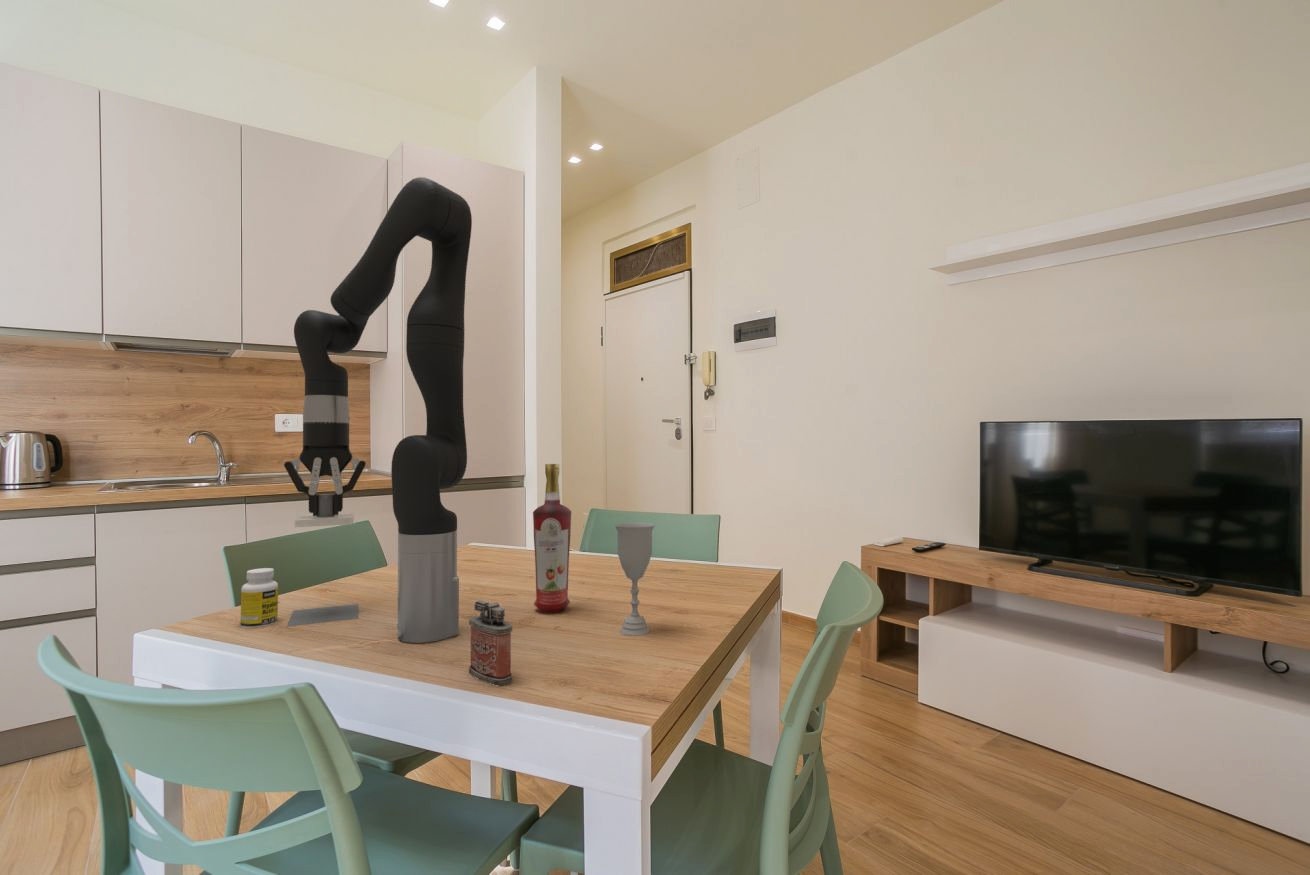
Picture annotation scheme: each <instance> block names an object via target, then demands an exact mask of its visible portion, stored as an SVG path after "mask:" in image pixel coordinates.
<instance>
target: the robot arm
mask: <svg viewBox="0 0 1310 875" xmlns="http://www.w3.org/2000/svg"><path fill="white" fill-rule="evenodd" d="M472 223H473V218H472V212H471V208H470V205H469V204H468V201H466V199H465V198H463V197H462V195H460V194H459V193H456V192H454V191H453V190H451V189H449V188H447V187H445V186H444V185H443V184H440V183H438V182H436V181H434V180H433V179H430V178H428V177H425V176H423V177H422V176H421V177H420V176H419V177H415V178H412V179H411V180H410V181H408V182H407V183H406V184H404V186H403V187H402V188H401V189H400V191H399V192H398V193H397V195H396V197H395V198H394V200H393V202H391V205H390V206H389V209H388V210H387V212H386V214H385V216H384V218H383V219H382V221H381V222H380V224H379V225H378V228H377V229H376V232H375V234H374V235H373V237H372V238H371V241H370V243H369V244H368V246H367V248H366V250H365V251H364V252H363V255H362V256H361V257H360V259H359V260H358V261H357V263H356V264H355V266H354V267H353V268H352V270H350V271H349V272H348V273H347V275H346V276H345V277H344V278H343V280H342V281H341V283H339V285H338V286H336V288H335V290H334V291H333V292H332V293H331V296H330V304H331V307H332V308H333V310H334V311H335V312H336V313H337V314H338V315H337V314H332V313H328V312H325V311H321V310H314V309H307V310H305V311H302V312H301V313H300V314H299V315H298V316H297V318H296V320H295V322H294V326H293V336H294V341H295V345H296V348H297V351H298V355H299V358H300V361H301V365H302V369H303V372H304V400H303V408H302V451H301V453H300V454H299V457H297V458H295V459H292V460H288V461H286V462H284V464H283V466H284V468H285V470H286V472H287V473H288V476H289V477H290V479H291V481H292V483H293V485H294V486H295V489H296V490H297V492H299V493H303V494H306V495H307V496H308V512H309V513H310V514H312V515H313V516H317V509H318V495H319V494H318V489H319V482H320V479H321V477H324V476H329V477H332V480H333V485H334V486H333V487H334V494H335V495H334V515H338V514H339V513H342V511H343V508H344V506H343V505H344V494H345V493H348V492H350V491H353V490H354V488H355V486H356V484H357V483H358V480H359V478H360V476H361V474H362V473H363V471H364V469H365V467H366V461H365V460H361V459H359V458H355V457H353V454H352V452H351V450H350V420H351V416H350V404H349V376H348V375H349V373H348V370H347V369H346V368H345V367H344V366H342V365H339V364H337V363H335V362H334V361H332V360H331V357H330V356H329V353H331V354H332V353H334V354H346V353H348V352H351V351H352V350H354V348H356V346H358V344H359V342H360V340H361V338H362V335H363V332H364V331H365V328H366V327H367V323H368V321H369V318H370V316H372V315H373V314H374V313H375V312H376V310H377V309H378V308H379V307H380V306H381V305H382V304H383V303H384V301H385V300H386V299H387V297H388V296H389V295H390V293H391V291H392V289H393V286H394V284H395V281H396V280H395V279H396V273H397V272H396V271H397V263H398V259H399V257H400V254H401V252H402V251H403V250H404V248H405V247H406V245H408V243H410V242H411V241H412V240H413V239H414V238H415V237H419V238H422V239H423V240H426V241H429V242H431V266H430V267H431V268H430V273H429V276H428V279H427V281H426V283H425V285H424V286H423V288H422V289H421V291H420V292H419V294H418V296H417V297H416V298H415V300H414V302H413V303H412V304H411V307H410V309H409V312H408V314H407V319H406V345H405V346H406V347H405V350H406V359H407V362H408V365H409V367H410V371H411V373H412V376H413V378H414V380H415V383H416V385H417V387H418V389H419V391H420V394H421V397H422V399H423V402H424V406H425V412H426V414H425V415H426V432H425V433H426V434H415V435H414V434H413V435H408V436H406V437H404V438H403V439H401V440H400V441H399V442H398V443H397V445H396V446H395V449H394V451H393V454H392V460H391V468H390V470H391V472H390V474H391V490H392V491H391V494H392V510H393V513H394V514H393V515H394V517H395V519H396V522H397V538H398V539H397V626H396V628H397V639H398V640H399V641H401V642H405V643H415V644H416V643H417V644H419V643H429V642H431V643H432V642H437V641H440V640H441V641H442V640H445V639H449V638H452V637H455V636H459V634H460V631H459V630H460V624H459V623H460V577H459V576H458V573H457V572H458V517H457V514H456V513H455V512H454V511H451V510H450V509H447V508H446V507H445V506H444V505H443V503H442V501H441V490H445V489H450V488H454V487H455V486H457V485H458V484H460V481H462V479H463V478H464V476H465V473H466V470H467V464H468V450H467V448H468V447H467V437H466V427H465V426H466V425H465V414H464V357H465V356H464V355H465V302H466V283H467V280H466V279H467V269H468V260H469V253H470V244H471V238H472V237H471V236H472V226H473V225H472ZM349 463H351V469H352V470H354V471H353V473H352V475H351V477H350V479H349V481H348V483H347V484H344V485H343V482H342V479H343V478H342V472H343V471H344V470H345V469H346V467H347V466H348V465H349ZM301 464H302V465H304V467H305V468H306V469H307V470H308V472H310V474H311V476H310V481H309V486H308V485H305V482H304V481H303V479H302V477H301V475H300V474H299V471H300V470H301Z"/></svg>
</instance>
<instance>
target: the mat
mask: <svg viewBox="0 0 1310 875" xmlns="http://www.w3.org/2000/svg"><path fill="white" fill-rule="evenodd" d="M359 608H360V604H359V603H354V604H344V605H335V606H334V605H333V606H323V607H314V608H306V609H304V608H303V609H294V610H292V612H291V615H290V617H289V620H288V622H287V624H286V627H287V628H288V627H296V626H305V625H313V624H322V623H330V622H338V621H339V622H340V621H341V622H342V621H347V620H358V619H359Z"/></svg>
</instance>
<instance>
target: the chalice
mask: <svg viewBox="0 0 1310 875" xmlns="http://www.w3.org/2000/svg"><path fill="white" fill-rule="evenodd" d="M655 524H656V523H655ZM655 524H654V523H651V522H642V521H641V522H639V521H638V522H637V521H636V522H635V521H634V522H633V521H632V522H630V521H629V522H619V523H616V524H614V526H615V529H616V531H617V556H618V559H619V562H620V566H621V567H622V570H623V572H624V574H625V576H626V578H627V579H629V580H631V584H632V585H631V589H630V593H631V600H630V601H629V604H630V605H631V608H632V609H631V613H629V615H627V616H626V617H625V619H624V620H623V623H622V624H621V625H622V627H621V628H620V630H619V632H620V633H621V634H623V635H627V636H642V635H646V634H648V633H650V628H649V626H648V623H647V622H646V621H647V620H646V618H645V617H644V616H643V615H640V612H638V606H639V604H640V602H641V601H640V600H639V598H638V596H639V593H640V589H639V587H638V582H639V580H640V579H642V578H643V577H644V575H645V573H646V571H647V569H648V566H649V564H650V560H651V557H652V555H653V530H654V528H655Z"/></svg>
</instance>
